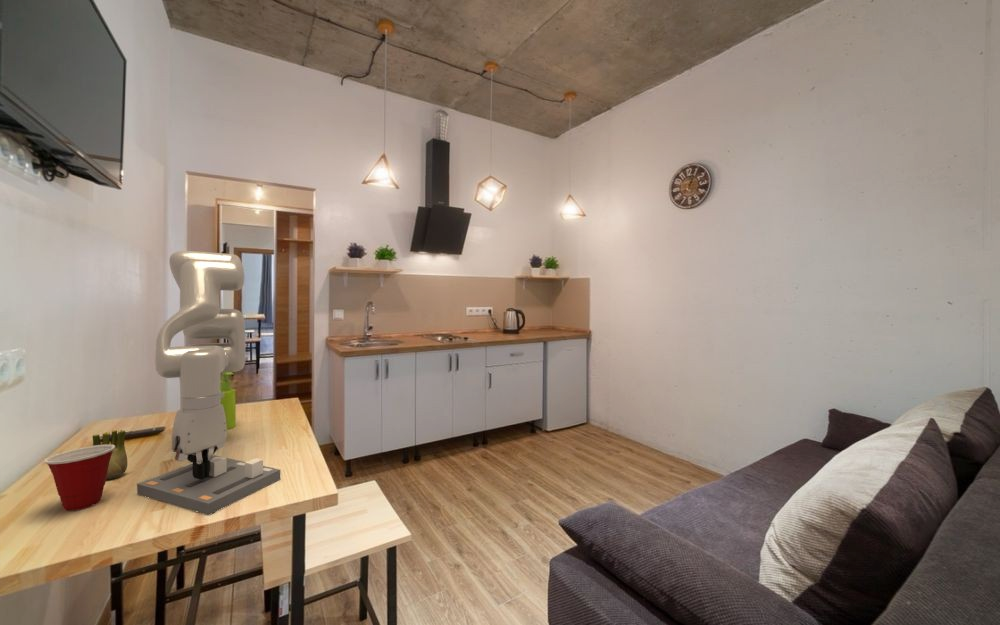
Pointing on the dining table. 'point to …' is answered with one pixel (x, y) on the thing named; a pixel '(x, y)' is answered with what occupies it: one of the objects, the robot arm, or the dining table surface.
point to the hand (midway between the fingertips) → (201, 477)
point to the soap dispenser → (228, 400)
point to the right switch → (253, 468)
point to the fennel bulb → (114, 452)
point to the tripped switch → (218, 466)
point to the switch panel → (206, 487)
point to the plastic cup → (80, 475)
